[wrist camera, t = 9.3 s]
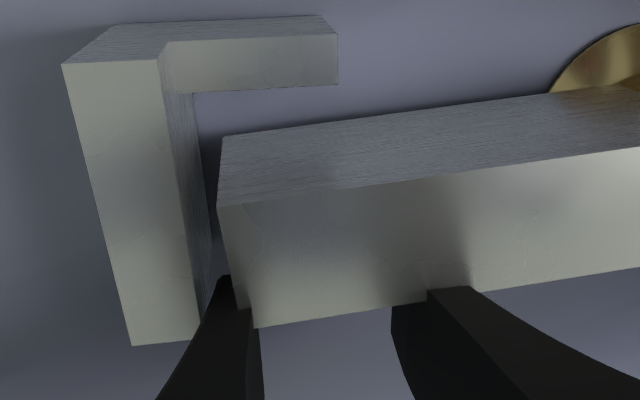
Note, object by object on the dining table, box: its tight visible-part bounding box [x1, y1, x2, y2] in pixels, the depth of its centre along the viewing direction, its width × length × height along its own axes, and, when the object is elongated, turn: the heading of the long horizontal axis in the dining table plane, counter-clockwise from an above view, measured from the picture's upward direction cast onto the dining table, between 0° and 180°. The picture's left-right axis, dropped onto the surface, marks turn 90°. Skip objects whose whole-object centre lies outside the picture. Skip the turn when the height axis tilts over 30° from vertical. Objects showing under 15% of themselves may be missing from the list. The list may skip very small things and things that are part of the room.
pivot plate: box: [547, 24, 640, 93], centre depth 12 cm, size 5×5×1 cm
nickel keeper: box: [61, 16, 338, 346], centre depth 9 cm, size 4×5×3 cm
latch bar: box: [216, 73, 640, 329], centre depth 10 cm, size 10×3×3 cm, turn 95°
